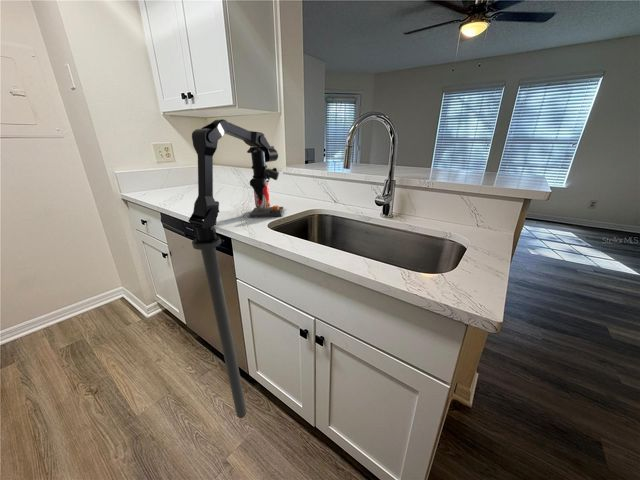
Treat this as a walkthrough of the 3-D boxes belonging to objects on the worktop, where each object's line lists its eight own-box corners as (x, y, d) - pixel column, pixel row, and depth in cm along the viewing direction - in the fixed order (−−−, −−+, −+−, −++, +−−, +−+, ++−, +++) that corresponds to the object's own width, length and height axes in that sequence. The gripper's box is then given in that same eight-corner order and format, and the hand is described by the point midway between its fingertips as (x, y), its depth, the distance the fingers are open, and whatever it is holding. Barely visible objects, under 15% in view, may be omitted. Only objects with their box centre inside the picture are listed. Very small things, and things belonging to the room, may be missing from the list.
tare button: (272, 210, 116) (272, 207, 116) (273, 208, 119) (273, 205, 118) (278, 210, 116) (278, 207, 116) (279, 208, 119) (279, 205, 118)
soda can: (269, 209, 119) (267, 182, 115) (253, 209, 119) (251, 182, 115) (272, 206, 126) (270, 180, 121) (257, 206, 126) (255, 180, 122)
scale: (249, 217, 116) (249, 211, 114) (255, 210, 127) (254, 204, 126) (282, 216, 116) (281, 210, 115) (284, 209, 127) (284, 203, 126)
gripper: (274, 165, 106) (277, 202, 112) (279, 160, 124) (281, 193, 130) (247, 165, 106) (251, 203, 112) (255, 161, 123) (259, 193, 129)
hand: (262, 197), depth 121 cm, fingers closed on soda can, 7 cm apart
